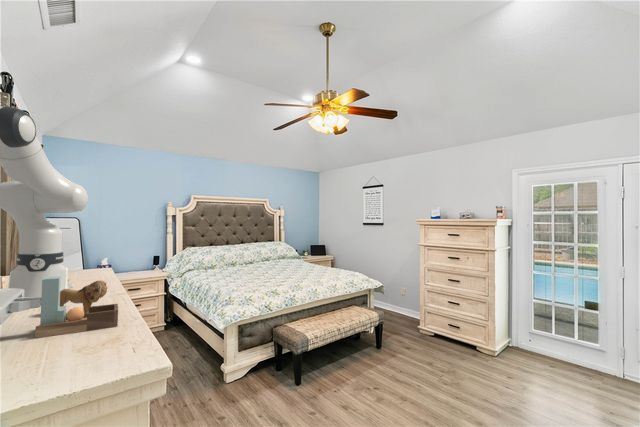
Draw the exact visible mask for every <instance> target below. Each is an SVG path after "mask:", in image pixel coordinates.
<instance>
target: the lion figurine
mask: <svg viewBox="0 0 640 427" xmlns="http://www.w3.org/2000/svg"><path fill="white" fill-rule="evenodd" d="M107 292H108V286H107V282H105V281H104V280H95V281H94V282H91V283H90V284H87V285H84V286H83V287H82V288H81V289H79V290H77V289H76V290H75V289H74V290H72V289H63V290H62V291H60V306H65V304H67V303H69V302H71V303H73V304H82V306H83V308H82V309H83V311H84V313H89V307H92V306H93V305H92V304H93V303H97V302H99V299H101V298H103V297H104V296H106V294H107Z"/></svg>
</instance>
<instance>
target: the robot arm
mask: <svg viewBox="0 0 640 427" xmlns="http://www.w3.org/2000/svg"><path fill="white" fill-rule="evenodd" d="M0 166H1V168H2V170H3V171H4V173H5V175H6V176H8V177H9V178H11V179H12V181H11V180H10V181H3V182H0V209H1V210H3V211H5V213H7V215H9V216H10V217H11V218H12V220H13V221H14V223H15V226H16V227H17V231H18V244H19V245H18V247H19V248H18V253H17V255H16V260H15V261H16V265H17V266H16V267H15V268H13V269H12V270H11V271H10V273H9V278H8V288H0V325H1V326H2V324H4V322H5V321H7V320H8V318H9V317H10V316H11V315H12V314H14V313H17V312H22V311H27V310H31V309H39V308H41V295H42V279H43V278H44V277H58V276H61V284H60V291H62V290H63V289H72V290H75V286H73V285H72V284H71V283H70V282H69V281H70V278H69V277H68V273H69V272H68V270H69V269H68V267H67V266H65V265H64V263H63V262H64V259H65V255H64V252H63V236H64V235H63V233H64V232H63V230H62V229H61V228H60V227H59V226H57V225H55V224H53V223H51V222H50V221H48V219H47V217H46V214H71V213H78V212H81V211H84V209H85V208H86V206H87V205H88V202H89V195H88V192H87V190H86V189H85V187H83V186H82V185H81V184H78V183H75V182H73V181H72V180H70V179H68V178H67V177H65V176H64V175H63V174H62V173H60V172H59V171H58V170H57V169H56V168H55V167H54V166H53V165H52V163H51V162H50V160H49V158H48V157H47V155H46V153H45V150H44V148H43V146H42V144H41V142H40V140H39V138H38V137H37V127H36V123H35V121H34V119H33V118H32V117H31V116H30V115H29V114H28V113H27V112H26V111H25V110H22V109H20V108H17V107H12V106H9V105H5V106H1V105H0Z"/></svg>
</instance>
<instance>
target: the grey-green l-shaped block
mask: <svg viewBox="0 0 640 427" xmlns="http://www.w3.org/2000/svg"><path fill="white" fill-rule="evenodd" d="M60 284H61V276H58V277H44V278H43V279H42V295H41V306H40V318H39V319H40V323H39V325H47V324H55V323H63V322H65V321H66V314H67V305H64V306H60Z"/></svg>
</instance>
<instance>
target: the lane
mask: <svg viewBox="0 0 640 427" xmlns="http://www.w3.org/2000/svg"><path fill="white" fill-rule="evenodd" d="M34 332H35V334H34V339H39V338H44V337H45V338H47V337H53V336H58V335H59V336H60V335H66V334H74V333H79V332H88V331H87V313H84V317H83V318H82V319H81V320H78V321H70V322H69V321H68V320H67V319H66V321H65V322H63V323H55V324H47V325H40V324H39V325H35V331H34Z"/></svg>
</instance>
